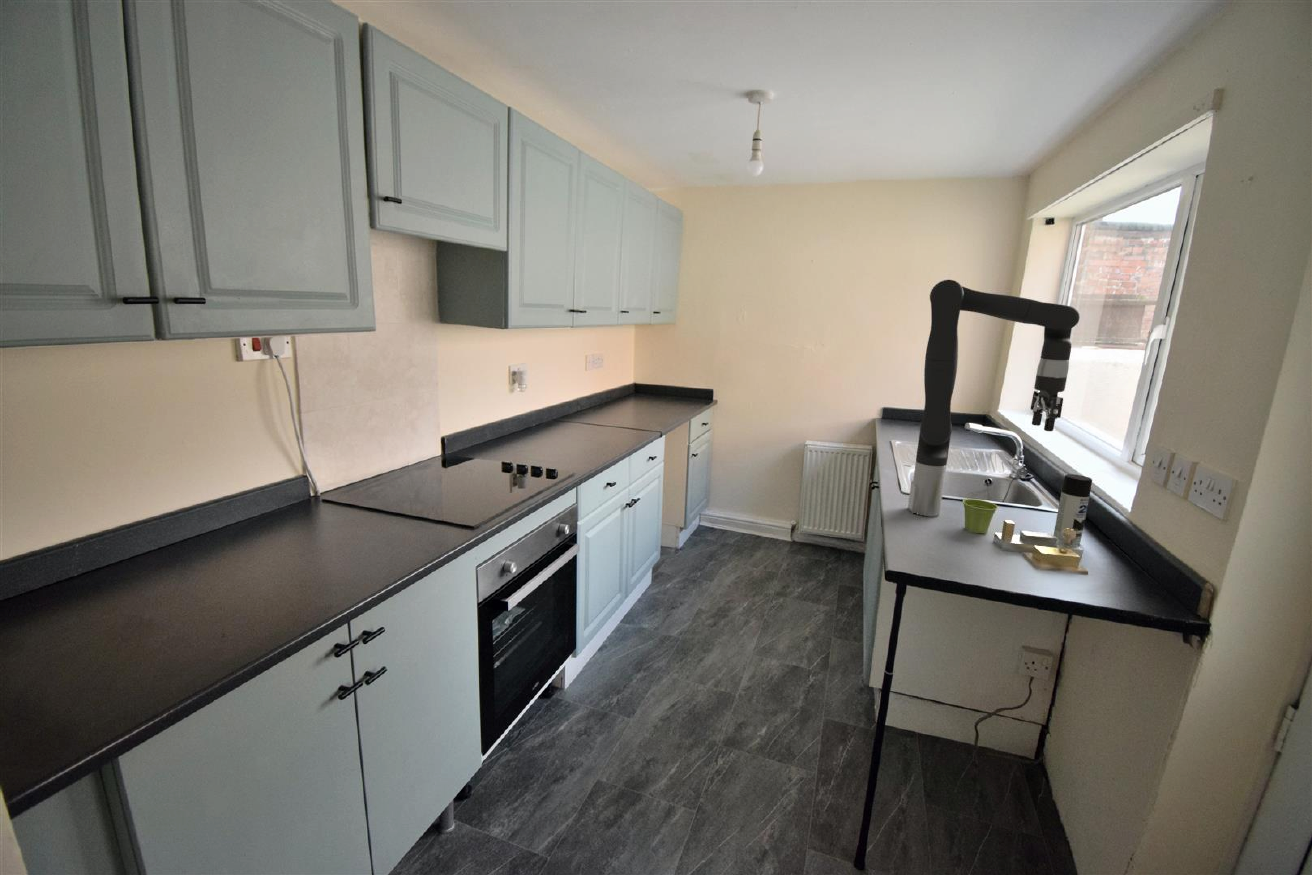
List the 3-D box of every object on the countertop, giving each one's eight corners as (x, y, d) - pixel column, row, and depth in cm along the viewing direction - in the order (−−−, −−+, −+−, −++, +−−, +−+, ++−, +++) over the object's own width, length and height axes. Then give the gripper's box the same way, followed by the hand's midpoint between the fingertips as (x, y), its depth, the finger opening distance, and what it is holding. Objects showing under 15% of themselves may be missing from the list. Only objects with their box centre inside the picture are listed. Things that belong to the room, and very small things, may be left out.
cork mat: (1036, 568, 148) (1037, 566, 148) (1022, 554, 157) (1023, 552, 156) (1087, 574, 146) (1088, 571, 145) (1070, 559, 154) (1071, 557, 154)
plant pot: (964, 522, 180) (968, 496, 178) (997, 530, 174) (1001, 504, 172) (954, 529, 174) (958, 503, 172) (987, 538, 167) (992, 511, 165)
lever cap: (1040, 563, 150) (1042, 551, 149) (1032, 555, 154) (1034, 543, 153) (1078, 567, 148) (1080, 554, 147) (1068, 559, 152) (1071, 547, 152)
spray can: (1072, 547, 163) (1085, 481, 158) (1047, 538, 168) (1059, 475, 164) (1084, 543, 166) (1098, 478, 161) (1059, 535, 171) (1072, 472, 167)
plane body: (1002, 550, 159) (1006, 525, 158) (993, 540, 166) (997, 516, 164) (1081, 558, 155) (1086, 532, 154) (1069, 547, 162) (1074, 523, 160)
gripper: (1027, 371, 174) (1018, 422, 178) (1048, 376, 160) (1038, 432, 164) (1054, 372, 172) (1045, 424, 176) (1078, 378, 159) (1067, 433, 162)
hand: (1041, 428), depth 170 cm, fingers open, 8 cm apart
